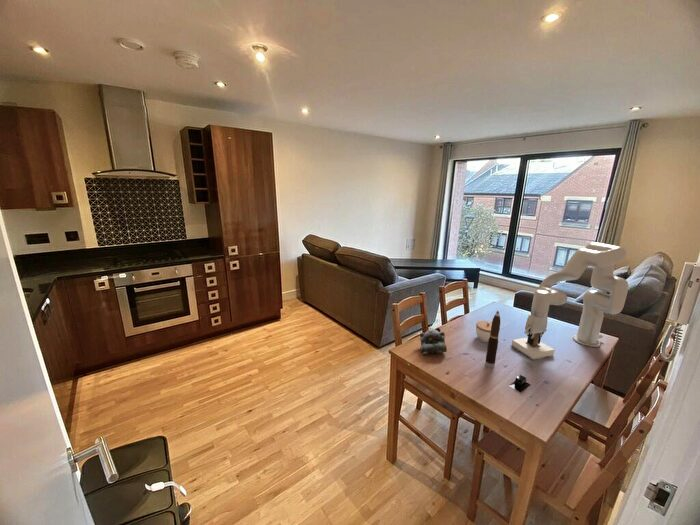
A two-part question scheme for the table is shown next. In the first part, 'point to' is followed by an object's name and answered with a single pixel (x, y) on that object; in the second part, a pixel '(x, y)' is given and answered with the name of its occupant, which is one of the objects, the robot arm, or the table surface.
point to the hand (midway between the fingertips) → (533, 342)
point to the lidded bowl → (483, 330)
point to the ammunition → (493, 341)
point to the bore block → (532, 349)
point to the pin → (535, 339)
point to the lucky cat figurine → (432, 341)
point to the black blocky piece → (520, 383)
